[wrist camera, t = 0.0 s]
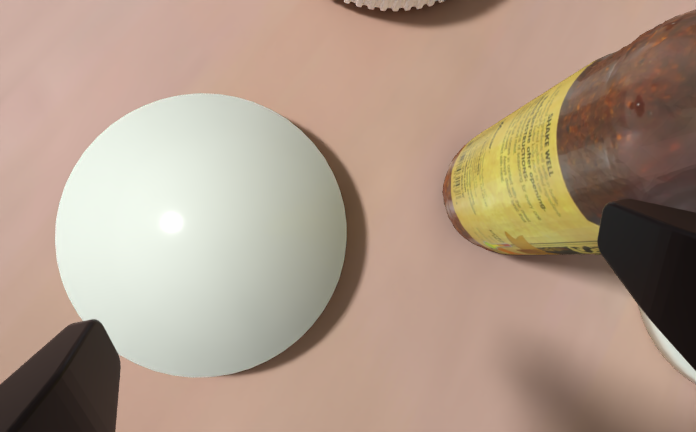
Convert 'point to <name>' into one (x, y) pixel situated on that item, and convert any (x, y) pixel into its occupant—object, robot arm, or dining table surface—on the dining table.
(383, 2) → the plastic lid
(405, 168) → the dining table surface
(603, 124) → the sauce bottle
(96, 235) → the dish left
